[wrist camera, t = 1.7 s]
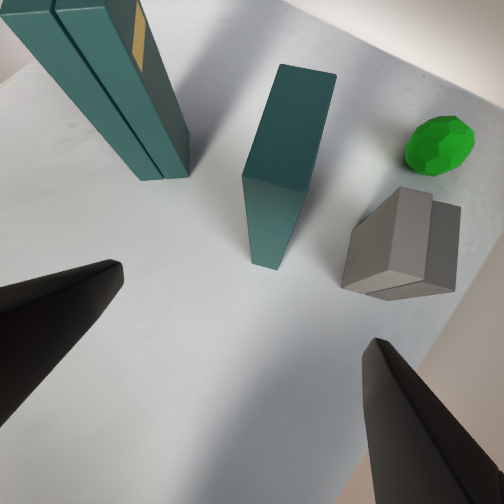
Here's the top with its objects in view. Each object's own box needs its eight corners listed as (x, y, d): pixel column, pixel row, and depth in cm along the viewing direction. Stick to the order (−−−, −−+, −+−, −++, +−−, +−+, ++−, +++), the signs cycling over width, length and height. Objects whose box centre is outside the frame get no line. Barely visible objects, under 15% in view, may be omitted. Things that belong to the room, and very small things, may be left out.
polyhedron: (448, 149, 25) (491, 110, 20) (443, 190, 23) (488, 159, 19) (398, 138, 25) (429, 97, 21) (391, 178, 24) (422, 144, 19)
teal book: (277, 270, 22) (307, 192, 8) (251, 263, 22) (240, 175, 9) (292, 216, 23) (338, 73, 10) (267, 210, 23) (279, 62, 10)
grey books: (388, 301, 21) (464, 290, 13) (340, 288, 21) (387, 270, 14) (396, 242, 22) (469, 202, 14) (351, 231, 23) (400, 186, 15)
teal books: (189, 177, 25) (105, 6, 11) (140, 181, 25) (-3, 14, 11) (189, 132, 26) (115, -67, 13) (143, 136, 26) (19, -59, 13)
